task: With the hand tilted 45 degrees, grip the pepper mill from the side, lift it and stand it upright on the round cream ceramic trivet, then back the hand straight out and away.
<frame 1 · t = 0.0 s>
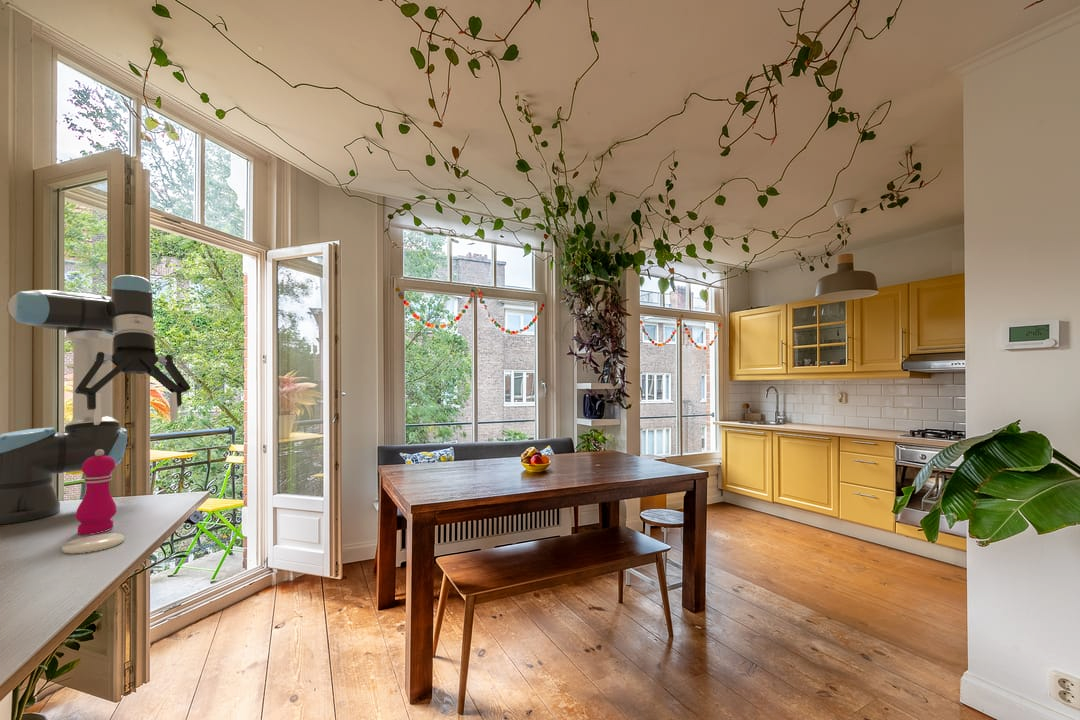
hand: (137, 421, 105), 28 cm above the table, tool tilted 20°, fingers open, 13 cm apart
pepper mill: (95, 531, 113), on the table
trivet: (94, 545, 103), on the table
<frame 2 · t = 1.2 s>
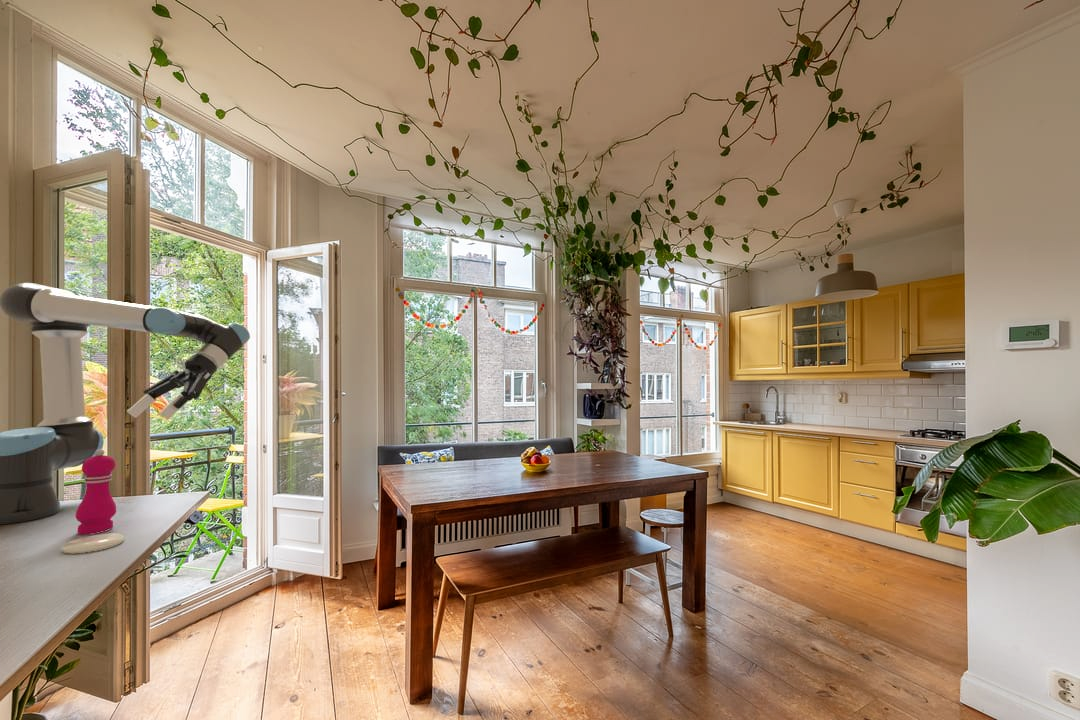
hand: (147, 415, 123), 28 cm above the table, tool tilted 45°, fingers open, 13 cm apart
nothing on the table moved.
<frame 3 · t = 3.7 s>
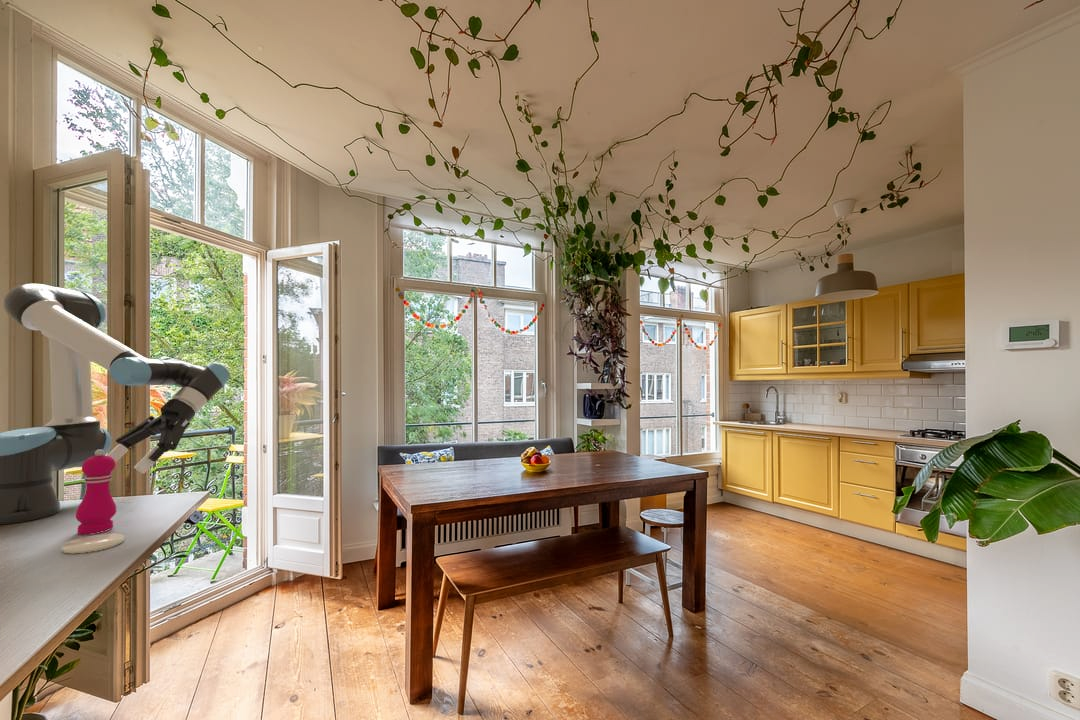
hand: (120, 469, 116), 15 cm above the table, tool tilted 45°, fingers open, 13 cm apart
nothing on the table moved.
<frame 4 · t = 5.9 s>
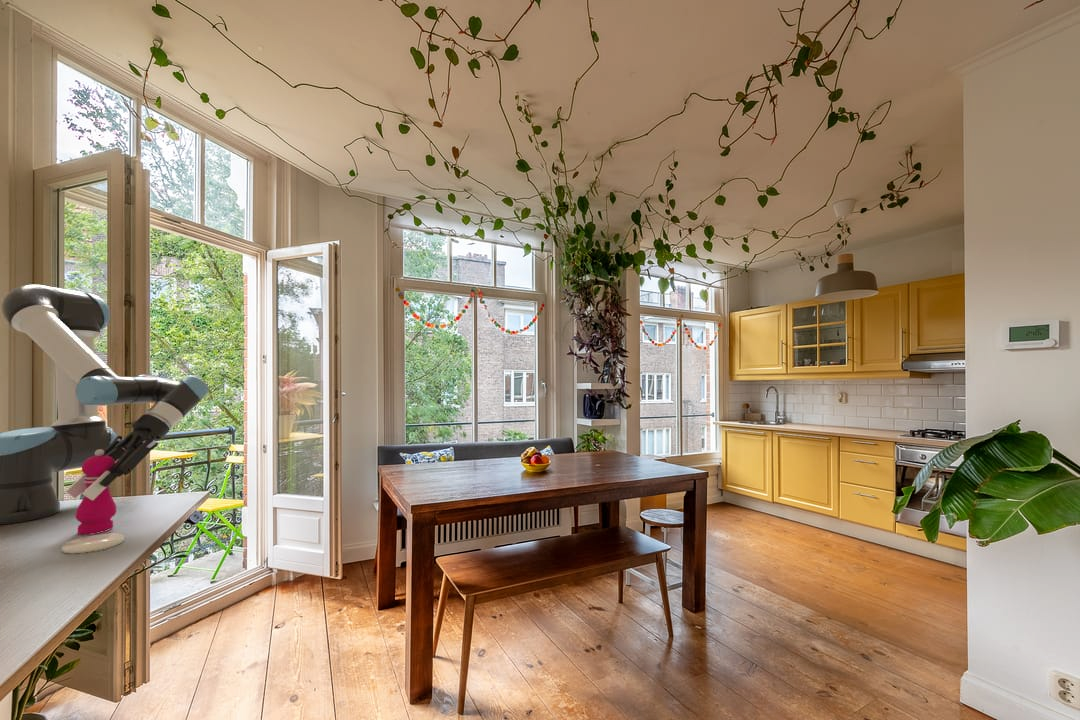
hand: (78, 495, 110), 9 cm above the table, tool tilted 45°, fingers closed on pepper mill, 6 cm apart
pepper mill: (95, 531, 113), on the table, touching gripper
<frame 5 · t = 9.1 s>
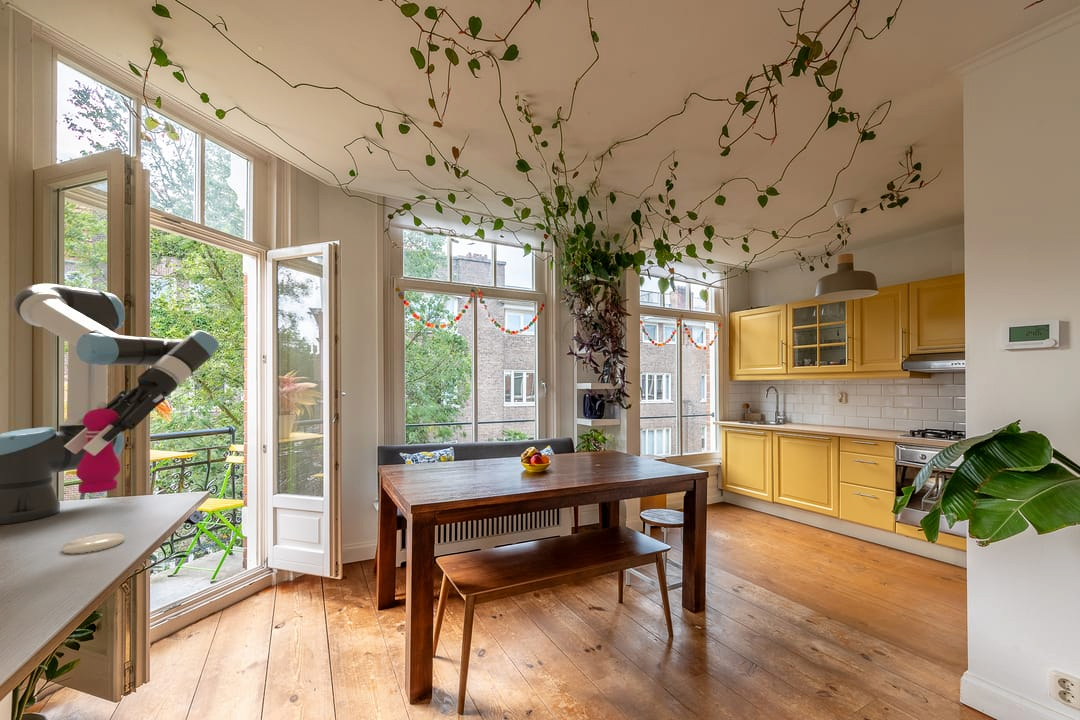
hand: (79, 450, 100), 22 cm above the table, tool tilted 45°, fingers closed on pepper mill, 6 cm apart
pepper mill: (97, 490, 103), point 12 cm above the table, touching gripper
when the fingers open (10 cm above the table, at t = 12.3 s): pepper mill stays where it is, resting on trivet.
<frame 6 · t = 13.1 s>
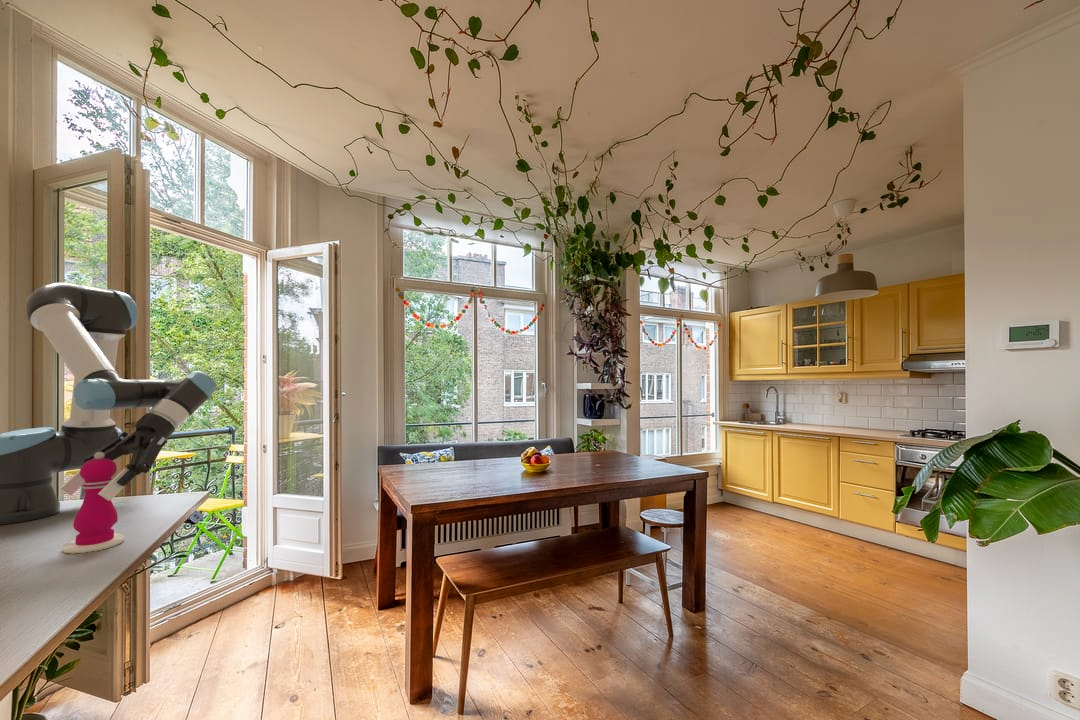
hand: (84, 494, 101), 12 cm above the table, tool tilted 45°, fingers open, 13 cm apart
pepper mill: (95, 541, 103), point 1 cm above the table, touching trivet
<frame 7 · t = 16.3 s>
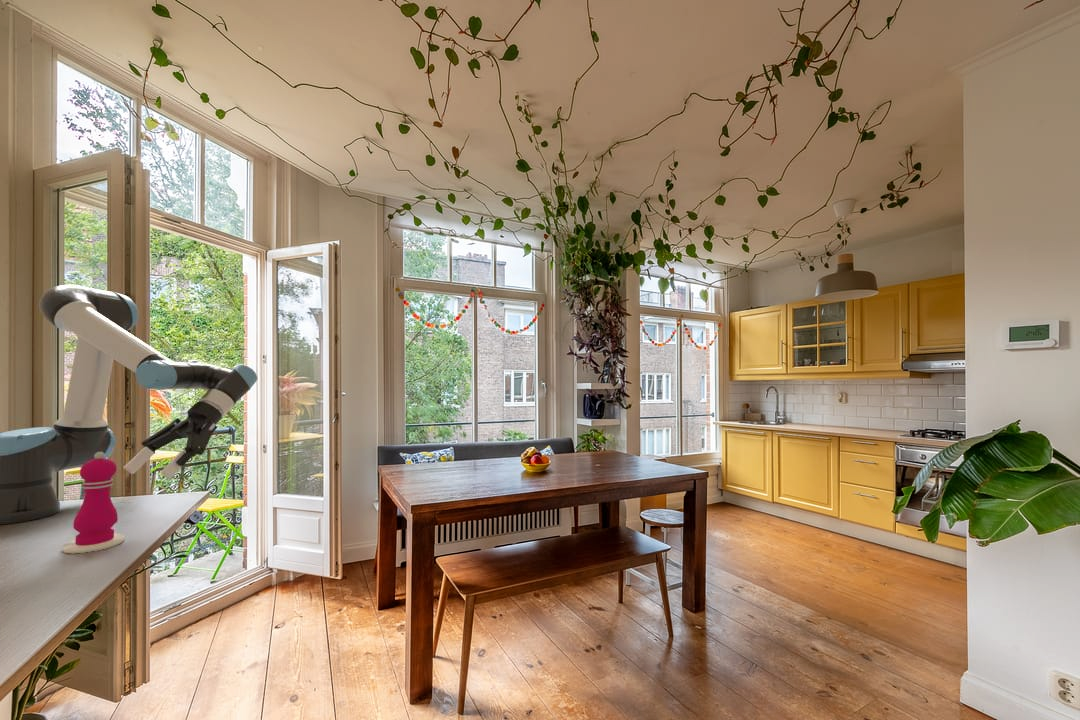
hand: (146, 473, 112), 14 cm above the table, tool tilted 45°, fingers open, 13 cm apart
nothing on the table moved.
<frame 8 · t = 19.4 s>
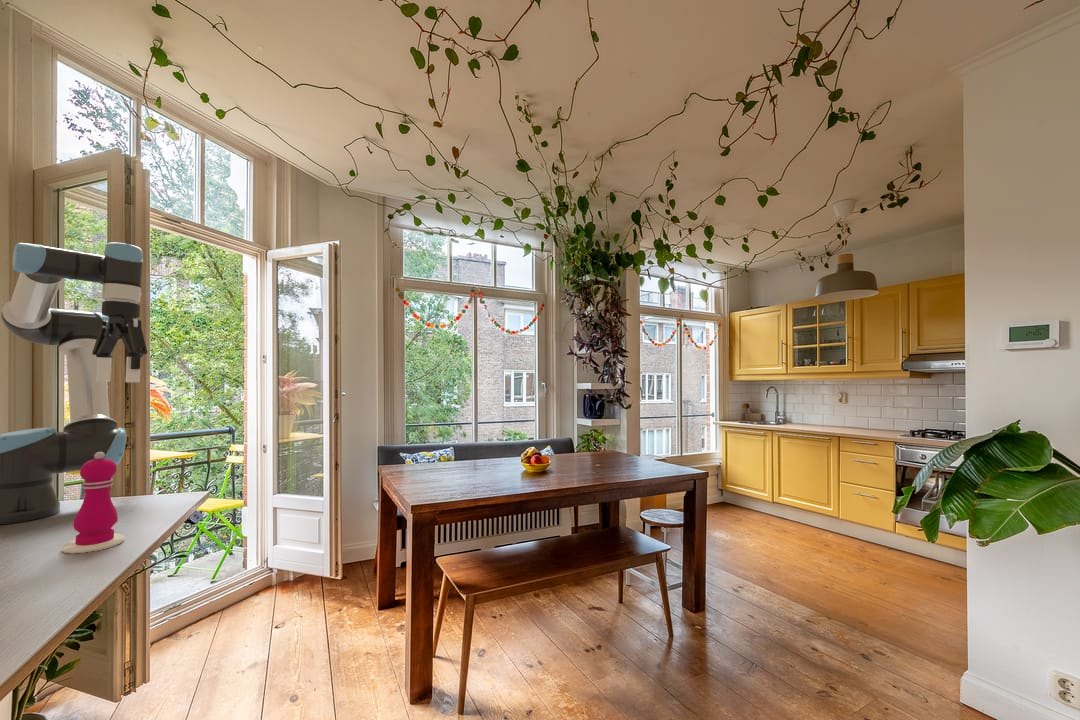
hand: (117, 382, 120), 37 cm above the table, tool pointing down, fingers open, 13 cm apart
nothing on the table moved.
at the end: pepper mill inside the target area on the trivet (0.1 cm from its centre), point 0.8 cm above the trivet's base; pepper mill tilted 0°; the gripper is holding nothing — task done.
